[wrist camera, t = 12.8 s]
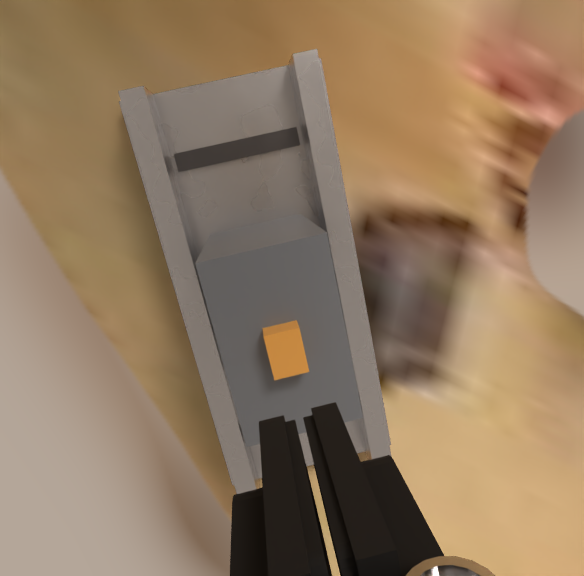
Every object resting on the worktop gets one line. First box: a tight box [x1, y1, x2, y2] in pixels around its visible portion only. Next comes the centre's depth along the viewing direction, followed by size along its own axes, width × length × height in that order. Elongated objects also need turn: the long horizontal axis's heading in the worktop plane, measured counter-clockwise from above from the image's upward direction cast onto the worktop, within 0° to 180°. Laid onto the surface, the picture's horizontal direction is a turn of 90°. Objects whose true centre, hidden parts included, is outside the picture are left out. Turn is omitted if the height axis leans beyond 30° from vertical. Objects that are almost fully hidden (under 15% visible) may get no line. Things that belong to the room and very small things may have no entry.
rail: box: [118, 49, 391, 494], centre depth 22 cm, size 20×9×3 cm, turn 12°
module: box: [195, 214, 363, 447], centre depth 19 cm, size 7×4×8 cm, turn 12°
